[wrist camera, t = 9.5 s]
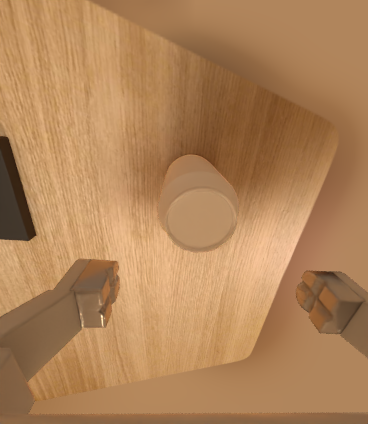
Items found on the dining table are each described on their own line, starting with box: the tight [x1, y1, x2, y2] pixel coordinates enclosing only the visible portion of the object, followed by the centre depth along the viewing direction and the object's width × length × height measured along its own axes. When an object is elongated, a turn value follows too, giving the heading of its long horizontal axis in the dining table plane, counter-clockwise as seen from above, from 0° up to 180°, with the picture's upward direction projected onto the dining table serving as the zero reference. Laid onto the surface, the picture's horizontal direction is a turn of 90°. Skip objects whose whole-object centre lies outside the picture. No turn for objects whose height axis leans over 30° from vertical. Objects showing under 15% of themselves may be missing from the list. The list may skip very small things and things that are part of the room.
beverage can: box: [157, 155, 239, 253], centre depth 18 cm, size 6×6×12 cm
